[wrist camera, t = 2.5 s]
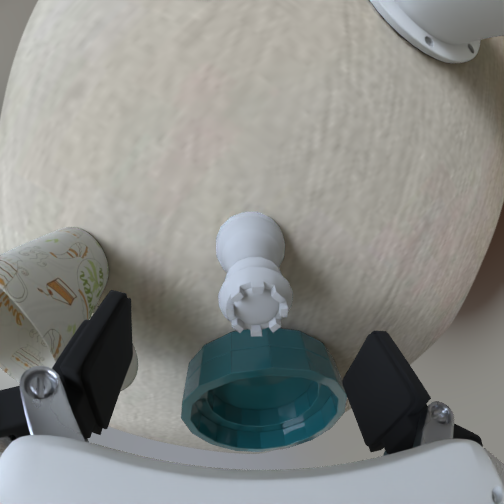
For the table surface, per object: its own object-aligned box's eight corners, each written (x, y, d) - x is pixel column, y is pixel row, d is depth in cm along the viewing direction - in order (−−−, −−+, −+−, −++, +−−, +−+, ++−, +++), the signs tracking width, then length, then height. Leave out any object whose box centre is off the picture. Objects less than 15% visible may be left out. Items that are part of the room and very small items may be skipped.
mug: (66, 188, 16) (-34, 237, 7) (185, 301, 20) (156, 412, 11) (30, 259, 18) (-40, 322, 9) (130, 351, 22) (96, 441, 13)
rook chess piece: (290, 217, 18) (325, 274, 10) (274, 276, 19) (293, 356, 12) (222, 203, 17) (209, 253, 10) (211, 266, 19) (196, 344, 11)
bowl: (196, 309, 20) (186, 355, 16) (354, 331, 22) (375, 371, 17) (184, 405, 25) (179, 443, 21) (303, 416, 27) (310, 451, 22)
